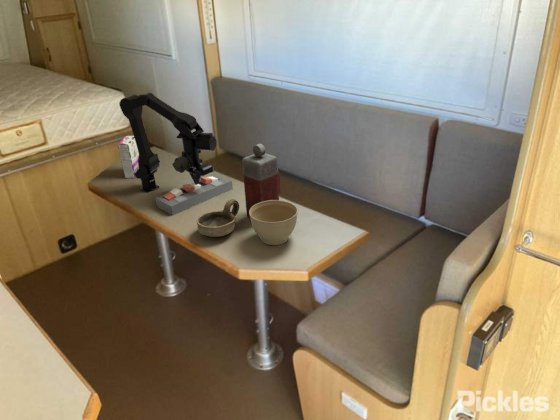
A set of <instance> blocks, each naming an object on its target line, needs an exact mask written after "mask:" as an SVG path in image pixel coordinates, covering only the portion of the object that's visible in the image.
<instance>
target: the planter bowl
mask: <svg viewBox="0 0 560 420" xmlns="http://www.w3.org/2000/svg"><path fill="white" fill-rule="evenodd" d="M298 211H299V209H298V207H297V205H295V204H294V203H292V202H290V201H286V200H281V199H279V200H269V201H264V202H260V203H258V204H255V205H254V206H253V207H251V209H250V211H249V215H250V217H249V218H250V223H251V226H252V228H253V230H254V232H255V233H256V234H257V235H258V237H259V238H260V241H261V242H262V243H263V244H265V245H269V246H279V245H283V244H285V243H286V242H287V241H288V240H289V238H290V236H291V235H292V233H293V232H294V230H295V228H296V226H297V225H296V224H297V221H298V215H299V214H298Z"/></svg>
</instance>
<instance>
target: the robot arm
mask: <svg viewBox="0 0 560 420" xmlns="http://www.w3.org/2000/svg"><path fill="white" fill-rule="evenodd" d="M143 106H146V107H147V108H149V109H151V110H152V111H154V112H156V113H157V114H159V116H162V117H163V118H165V119H166V120H168V121H169V122H170V123H172V125H173V127H174V128H175V129H176V130H177V131H178V132H179V133H178V135H177V136H176V138H177V139H181V142H182V147H183V151H181V155H180V156H178V157H176V158H175V159H174V162H172V163H171V165H172V167H173V168H174V169H175V171H176V172H179V173H180V174H183V173H184V172H185V171H186V172H187V173H189V176H190V177H191V179H192V180H193V183H195V184H196V185H197V184H198V183H199V180H200V179H201V177H205V176H206V175H208V174H211V173H213V172H214V170H215V169H214V165H212V164H210V163H207V162H205V163H203V162H204V161H203V159H202V158H201V157H200V154H201V153H202V151H211V152H213V151H215V150H216V148H217V143H218V142H217V139H216V136H214V133H213V132H205V129H203V127H202V126H201V125H200V124H199V123H198V121H197V118H196V117H195V116H193V115H191V114H189V113H187V112H184V111H183V112H182V111H179V110H177V109H175V108H173V107H172V106H170V105H169V104H168V103H166V102H164V101H163V100H162V99H160V98H159V97H157V96H155V95H154V93H152V92H146V93H141V94H139V95H137V94H131V95H127V96H126V97H123V98H121V99H120V101H119V108H120V110H121V112H122V115H123V116H124V117H125V118H126V119H128V121H129V125H130V127H131V132H132V134H133V135H132V136H134V138H135V142H136V145H137V148H138V153H139V158H138V166H139V169H138V170H137V171H136V173H135V176H136V179H139V180H140V183H141V186H139V187H138V189H139V190H141V191H143V192H145V193H150V192H152V191H154V190H158V189H159V188H160V185H157V183H156V178H155V173H157V172H158V169H159V167H160V163H161V161H160V158H159V154H158V153H154V152H153V150H152V149H151V145H150V142H149V138H148V135H147V132H146V128H145V125H144V122H143V118H142V115H143V109H144V108H143ZM192 131H193V132H192Z"/></svg>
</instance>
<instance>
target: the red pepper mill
mask: <svg viewBox="0 0 560 420" xmlns="http://www.w3.org/2000/svg"><path fill="white" fill-rule="evenodd" d="M277 157H278V156H275V155H272V154H268V153H266V147H265V146H264V145H263V144H262V143H258V144H255V145H253V147H252V154H251V155H247V156H245V157H243V158H242V161H241V163H242V174H243V186H244V197H245V198H244V199H245V208H246V209H245V210H246V217H247V216H248V218H250V215H249V211H250V209H251V207H253V206H254V205H255V204H258V203H260V202H264V201H269V200H280V195H281V191H282V190H281V176H280V172H279V168H278V158H277Z"/></svg>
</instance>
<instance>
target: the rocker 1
mask: <svg viewBox="0 0 560 420" xmlns="http://www.w3.org/2000/svg"><path fill="white" fill-rule="evenodd" d="M165 194H166V195H165V196H163V197H164V199H166V200H168V201H169V200H172V199H174V198H177V197H179V196H180V195H181V194H183V193H182V191H181V190H180V189H179V188H178V187H176V186H175V187H174V188H173V189H171V190H170V191H168V192H167V193H165Z"/></svg>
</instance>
